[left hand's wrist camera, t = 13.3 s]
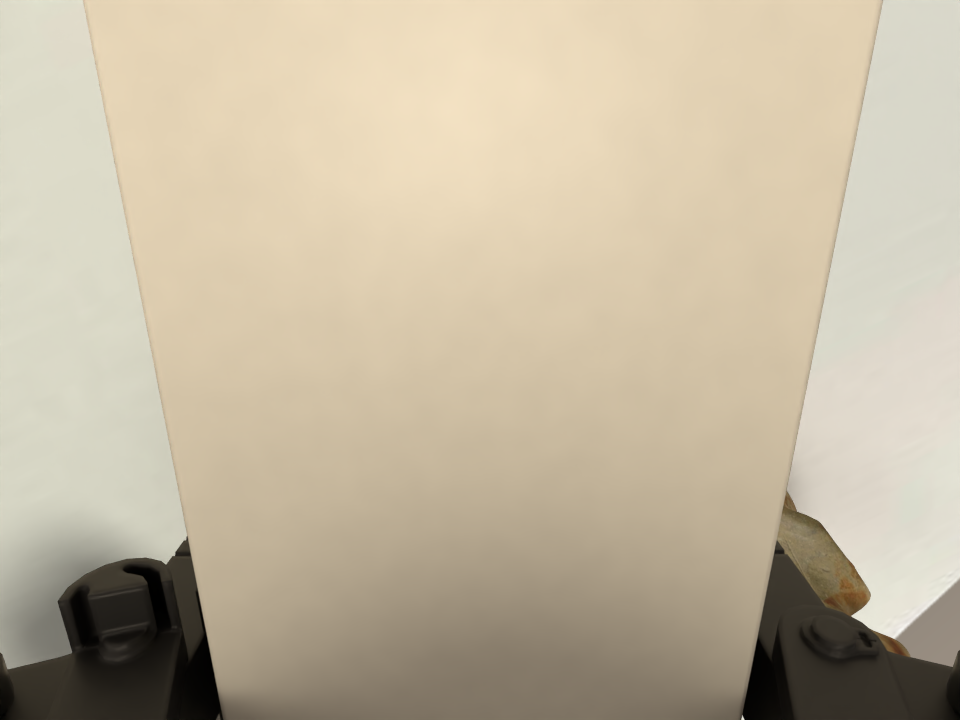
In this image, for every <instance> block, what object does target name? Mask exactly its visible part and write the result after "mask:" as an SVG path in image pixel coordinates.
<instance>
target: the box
mask: <svg viewBox="0 0 960 720" xmlns="http://www.w3.org/2000/svg"><path fill="white" fill-rule="evenodd" d="M83 2H84V8H85V13H86V18H87V23H88V28H89V33H90V38H91V43H92V49H93V54H94V59H95V64H96V69H97V74H98V79H99V85H100V90H101V95H102V100H103V105H104V110H105V115H106V120H107V126H108V131H109V136H110V141H111V146H112V151H113V156H114V161H115V167H116V172H117V177H118V182H119V187H120V192H121V197H122V202H123V208H124V213H125V218H126V223H127V228H128V233H129V238H130V244H131V249H132V254H133V259H134V264H135V269H136V274H137V279H138V285H139V290H140V295H141V300H142V305H143V310H144V315H145V320H146V326H147V331H148V336H149V341H150V346H151V351H152V356H153V361H154V367H155V372H156V377H157V382H158V387H159V392H160V397H161V402H162V408H163V413H164V418H165V423H166V428H167V433H168V438H169V444H170V449H171V454H172V459H173V464H174V469H175V474H176V479H177V485H178V490H179V495H180V500H181V505H182V510H183V515H184V520H185V526H186V531H187V536H188V541H189V546H190V551H191V556H192V561H193V567H194V572H195V577H196V582H197V587H198V592H199V597H200V603H201V608H202V613H203V618H204V623H205V628H206V633H207V638H208V644H209V649H210V654H211V659H212V664H213V669H214V674H215V679H216V685H217V690H218V695H219V700H220V705H221V710H222V715H223V720H741V718H742V713H743V708H744V703H745V698H746V693H747V688H748V683H749V678H750V672H751V667H752V662H753V657H754V652H755V647H756V642H757V637H758V632H759V627H760V622H761V617H762V612H763V607H764V602H765V596H766V591H767V586H768V581H769V576H770V571H771V566H772V561H773V556H774V551H775V546H776V541H777V536H778V531H779V525H780V520H781V515H782V510H783V505H784V500H785V495H786V490H787V485H788V480H789V475H790V470H791V465H792V460H793V454H794V449H795V444H796V439H797V434H798V429H799V424H800V419H801V414H802V409H803V404H804V399H805V394H806V389H807V383H808V378H809V373H810V368H811V363H812V358H813V353H814V348H815V343H816V338H817V333H818V328H819V323H820V318H821V313H822V307H823V302H824V297H825V292H826V287H827V282H828V277H829V272H830V267H831V262H832V257H833V252H834V247H835V242H836V236H837V231H838V226H839V221H840V216H841V211H842V206H843V201H844V196H845V191H846V186H847V181H848V176H849V171H850V165H851V160H852V155H853V150H854V145H855V140H856V135H857V130H858V125H859V120H860V115H861V110H862V105H863V100H864V95H865V89H866V84H867V79H868V74H869V69H870V64H871V59H872V54H873V49H874V44H875V39H876V34H877V29H878V24H879V18H880V13H881V8H882V3H883V0H83Z"/></svg>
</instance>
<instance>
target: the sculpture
mask: <svg viewBox="0 0 960 720" xmlns="http://www.w3.org/2000/svg"><path fill="white" fill-rule="evenodd" d="M777 541H778V542H779V543H780V545H781V546H782V547H783V549H784V550H785V551H784V552H785V554H788V556H789V557H790V558H791V560H792V561H793V562H794V564H795V565H796V567H797V568H798V569H799V571H800V572H801V573H802V575H803V576H804V577H805V579H806V580H807V582H808V583H809V584H810V586H811V587H812V588H813V590H814V591H815V593H816V594H817V595H818V597H819V598H820V599H821V601H822V602H823V603H824V605H825V606H826V607H827V608H831V609H834V610H837V611H840V612H843V613H845V614H847V615H849V616H851V615H853V614H854V613H856V612H857V611H859V610H860V609H862V608H863V607H864V606H865V605H866V604H867V603H868V601H869V600H870V596H871V594H870V591H869V590H868V588H867V586H866V585H865V583H864V582H863V580H862V579H861V577H860V576H859V574H858V572H857V571H856V569H855V567H854V565H853V564H852V563H851V562H850V561H849V560H848V559H847V557H846V556H845V555H844V554H843V552H842V551H841V550H840V548H839V547H838V546H837V544H836V543H835V542H834V540H833V539H832V538H831V536H830V535H829V533H828V532H827V531H826V529H825V528H824V527H823V525H822V524H821V523H820V522H819V521H817V520H815V519H813V518H811V517H809V516H807V515H804V514H802V513H799V512H797V511H796V507H795V505H794V503H793V501H792V499H791V497H790V495H789V494H788V492H787V491H786V495H785V500H784V505H783V510H782V515H781V520H780V525H779V531H778V536H777ZM870 630H871V629H870ZM871 631H872V632H874V633H875V634H876V635H877V636H878V637H879V638H880V640H881V642H882V643H883V645H884V646H885V648H886V649H887V651H890V652H893V653H896V654H900V655H903V656H907V657H910V654H909V652H908V651H907V649H906V648H905V647H904V646H903V645H902V644H901V643H900V642H898V641H897V640H895V639H893V638H891V637H888V636H886V635H883V634H880V633H878V632H875V631H873V630H871Z"/></svg>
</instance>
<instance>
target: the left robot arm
mask: <svg viewBox="0 0 960 720" xmlns="http://www.w3.org/2000/svg"><path fill="white" fill-rule="evenodd" d="M784 551H785V550H784V549H783V547H782V546H781V545H780V543H779V542H778V541H776V546H775V551H774V556H773V561H772V566H771V571H770V576H769V581H768V586H767V591H766V596H765V602H764V607H763V612H762V617H761V622H760V627H759V632H758V637H757V642H756V647H755V652H754V657H753V662H752V667H751V672H750V678H749V683H748V688H747V693H746V698H745V703H744V708H743V713H742V715H743V717H744V719H745V720H960V650H959V651H958V653H957V656H956V659H955V662H954V665H953V667H950V666H946V665H941V664H937V663H933V662H928V661H924V660H920V659H916V658H911V657H907V656H903V655H900V654H896V653H893V652H890V651H887V649H886V648H885V646H884V645H883V643H882V642H881V640H880V638H879V637H878V636H877V635H876V634H875V633H874V632H872V631H871V630H870V629H869V628H868V627H867V626H865V625H864V624H863V623H862V622H860V621H858V620H856V619H854V618H852V617H851V616H849V615H847V614H845V613H843V612H840V611H837V610H834V609H831V608H827V607H826V606H825V605H824V603H823V602H822V601H821V599H820V598H819V597H818V595H817V594H816V593H815V591H814V590H813V588H812V587H811V586H810V584H809V583H808V582H807V580H806V579H805V577H804V576H803V575H802V573H801V572H800V571H799V569H798V568H797V567H796V565H795V564H794V562H793V561H792V560H791V558H790V557H789V556H788V554H785V552H784ZM58 604H59V608H60V611H61V615H62V618H63V621H64V625H65V628H66V632H67V635H68V639H69V642H70V645H71V649H72V654H69V655H66V656H62V657H59V658H55V659H51V660H47V661H42V662H38V663H34V664H30V665H25V666H21V667H17V668H13V669H8V670H7V667H6V664H5V661H4V658H3V655H2V654H1V653H0V720H223V715H222V710H221V705H220V700H219V695H218V690H217V685H216V679H215V674H214V669H213V664H212V659H211V654H210V649H209V644H208V638H207V633H206V628H205V623H204V618H203V613H202V608H201V603H200V597H199V592H198V587H197V582H196V577H195V572H194V567H193V561H192V556H191V551H190V546H189V541H188V536H187V540H186V541H183V543H182V544H181V545H180V547H179V548H178V549H177V551H176V552H175V556H172V558H171V559H170V560H169V562H168V563H167V565H165V564H164V563H163V562H162V561H159V560H154V559H149V558H135V559H125V560H122V561H118V562H114V563H111V564H107V565H104V566H102V567H100V568H98V569H96V570H94V571H92V572H90V573H87V574H85V575H84V576H83V577H81V578H80V579H79V580H77V581H76V582H75V583H73V584H72V585H71V586H69V587H68V588H67V589H66V591H65V592H64V594H63V595H62V596H61V598H60V599H59V600H58Z"/></svg>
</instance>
